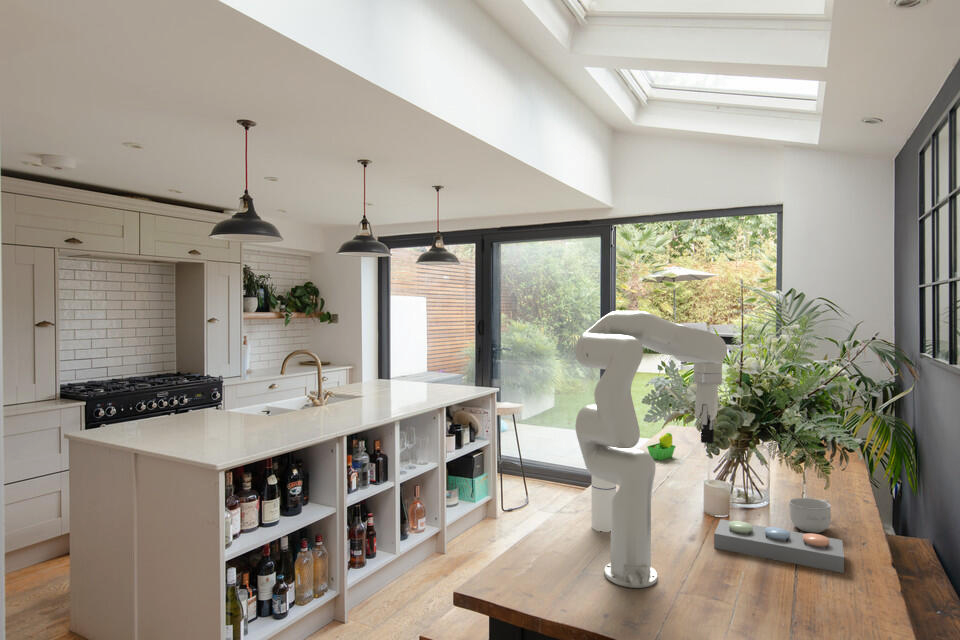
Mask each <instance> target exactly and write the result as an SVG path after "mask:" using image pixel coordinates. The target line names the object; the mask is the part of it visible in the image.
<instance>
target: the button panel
mask: <svg viewBox="0 0 960 640" xmlns="http://www.w3.org/2000/svg"><path fill="white" fill-rule="evenodd" d="M731 521H732V520H727V519H722V518H721V519H719V522H718V523H717V524H718V525H716V526H717V527H716V529H715V531H714V532H713V533H714V535H713V542H714V543H713V548H714V549H716V550H717V549H718V550H724V551H726V552H727V551H728V552H733V553H738V554H742V555H749V556H753V557H759V558H763V559H769V560H773V561H774V560H775V561H779V562H785V563H790V564H796V565H800V566H804V567H810V568H813V569H814V568H815V569H818V570H819V569H820V570H826V571H831V572H835V573H841V574H845V553H844V545H843V540H842V539H838V538H833V537H827V538H828V539H829V545H828V546H826V549H824V548H819V547H813V546H807V545H806V542H804V541H803V535H804V534H805V533H803V532H799V531H798V532H797V531H791V530H788V531H789V532H790V538H789V539H787V542H785V541H780V540H774V539H768V536H767V535H766V534H765V528H767V527H768V526H762V525H755V524H751V525H752V526H753V531H752V532H750V535H746V534H740V533H735V532H731V529H730V528H729V522H731Z"/></svg>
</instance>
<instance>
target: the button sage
mask: <svg viewBox="0 0 960 640" xmlns="http://www.w3.org/2000/svg"><path fill="white" fill-rule="evenodd" d="M730 521H731V522H729V528H730V529H731V532H735V533H740V534H746V535H750V532H752V531H753V526H752V525H753V524H751V523H749V522H747V521H746V522H745V521H743V520H742V521H741V520H730Z"/></svg>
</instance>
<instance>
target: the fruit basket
mask: <svg viewBox="0 0 960 640" xmlns="http://www.w3.org/2000/svg"><path fill="white" fill-rule="evenodd" d="M658 441H659V443H656V444H655V443H654V444H651V445H646V448H647V450H648V453H649V454H650V455H651V456H652V458H653V459H654V460H658V461H663V460H667V459H669V458H673V455H674V452H675V449H676V445H673V434H671V432H666V433H665V434H664V435H662V436H661V437H659V439H658Z"/></svg>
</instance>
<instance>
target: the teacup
mask: <svg viewBox="0 0 960 640" xmlns="http://www.w3.org/2000/svg"><path fill="white" fill-rule="evenodd" d="M788 503H789V516H790V521H791V522H792V524H793V525H794V526H796V528H798V529H799V530H800V531H802V532H807V533H813V534H819V533H822V532H824V531H826V530H828V529H829V527H831V523H832V514H831V508H832V507H831V506H832V504H830V502H829V501H828V500H827V499H817V498H812V497H797V498H796V497H795V498H791V499H789V500H788Z"/></svg>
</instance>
